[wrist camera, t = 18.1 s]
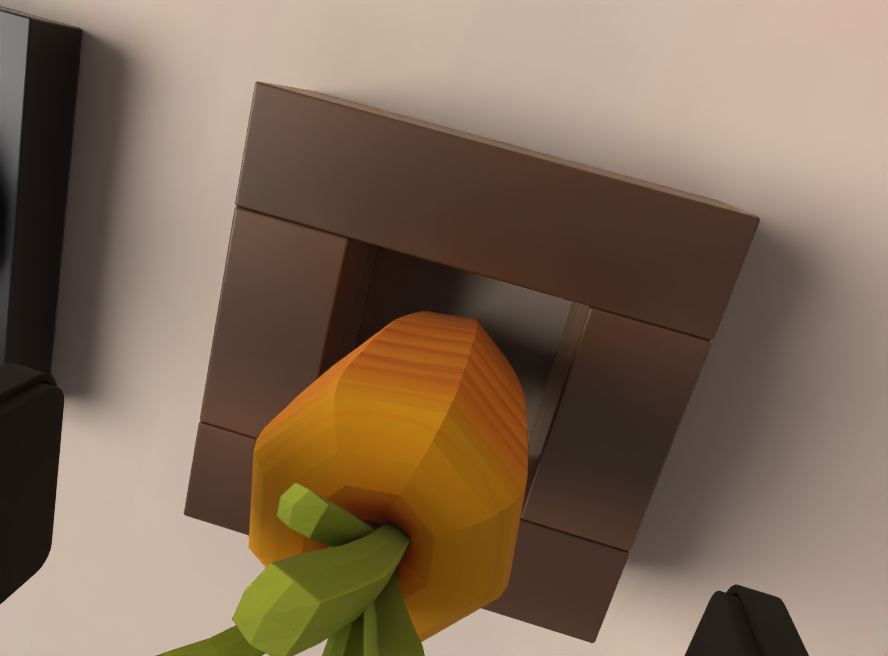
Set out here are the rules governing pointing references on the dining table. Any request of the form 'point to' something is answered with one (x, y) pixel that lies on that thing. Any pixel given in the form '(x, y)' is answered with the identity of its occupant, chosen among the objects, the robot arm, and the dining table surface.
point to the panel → (33, 178)
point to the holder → (491, 255)
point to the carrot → (385, 497)
